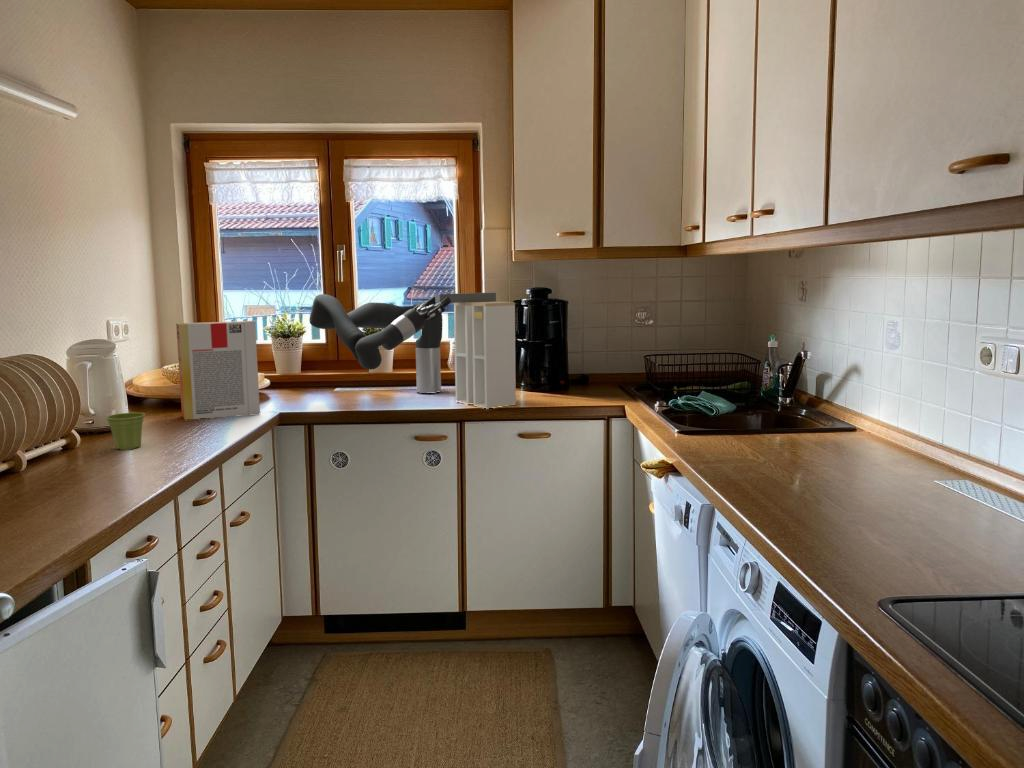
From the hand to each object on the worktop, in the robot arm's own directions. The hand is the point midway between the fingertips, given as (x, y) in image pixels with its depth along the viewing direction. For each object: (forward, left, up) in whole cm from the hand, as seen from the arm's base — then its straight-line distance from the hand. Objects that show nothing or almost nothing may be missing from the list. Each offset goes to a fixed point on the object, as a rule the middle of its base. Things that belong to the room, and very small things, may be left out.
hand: (442, 299), depth 278 cm
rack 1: (-10, +8, -36) cm, 38 cm away
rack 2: (-3, +17, -36) cm, 40 cm away
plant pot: (+83, -59, -36) cm, 108 cm away
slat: (-7, +6, -1) cm, 10 cm away
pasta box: (+33, -65, -36) cm, 81 cm away
